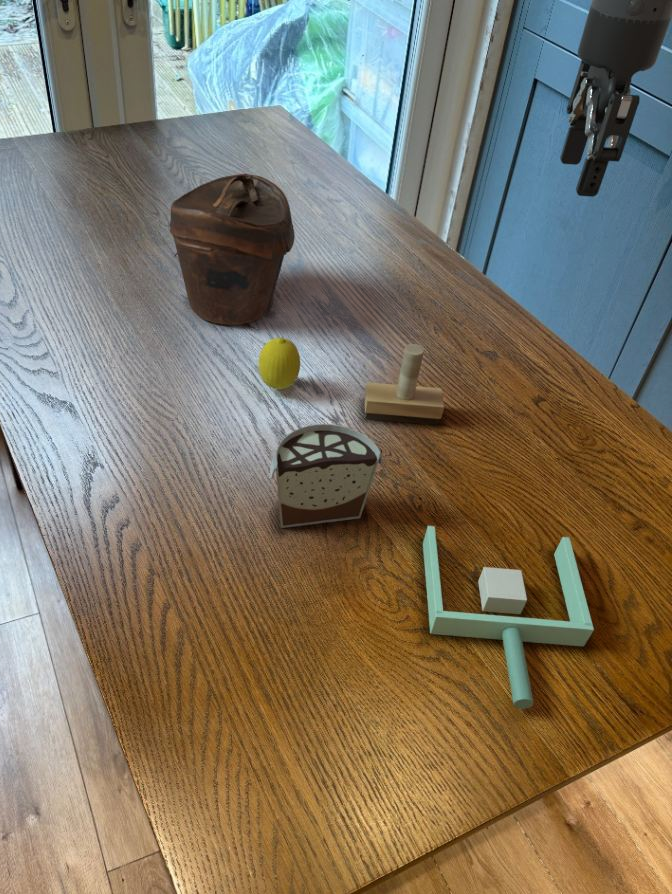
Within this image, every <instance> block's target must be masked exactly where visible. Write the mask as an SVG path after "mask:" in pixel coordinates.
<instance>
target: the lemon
mask: <svg viewBox="0 0 672 894" xmlns="http://www.w3.org/2000/svg"><path fill="white" fill-rule="evenodd" d="M300 369H301V357H300V352H299V350H298V347H297V346H296V345H295V343H294V342H293V341H291V340H290V339H288V338H284V337H276V338H275V337H274V338H272V339H270V340H268V341H267V342H266V343H265V344H264V345H263V347H262V348H261V351H260V354H259V356H258V373H259V376H260V378H261V380H262V381H263V383H264V384H265V385H266V386H268V387H269V388H272V389H274V390H275V389H276V390H283V389H287V388H289V387H290V386H292V385H293V384H294V383H295V382H296V380H297V379H298V377H299V375H300V371H301V370H300Z"/></svg>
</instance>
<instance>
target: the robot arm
mask: <svg viewBox="0 0 672 894" xmlns="http://www.w3.org/2000/svg"><path fill="white" fill-rule="evenodd" d="M671 20H672V0H591V3H590V6H589V10H588V14H587V17H586V20H585V24H584V27H583V30H582V34H581V38H580V41H579V44H578V48H577V56H578V58H579V59H580V60H581V61H580V64H579V67H578V71H577V73H576V78H575V81H574V84H573V86H572V91H571V93H570V97H569V99H568V104H567V106H566V115H569V116H568V117H567V118H568V119H567V125H568V126H569V127H568V130H567V133H566V137H565V140H564V143H563V147H562V150H561V153H560V156H559V159H560V161H561V163H562V164H564V165H573V166H574V165H575V166H576V165H579V164H580V163H581V162H582V159H583V155H584V153H585V149H586V146H587V150H586V156H585V160H584V162H583V165H582V169H581V172H580V175H579V178H578V181H577V184H576V188H575V191H576V194H577V195H578V196H579V197H591V198H592V197H595V196H597V195H598V194H599V191H600V188H601V187H602V186H601V185H602V182H603V181H604V178H605V177H604V176H605V175H606V171H607V169H608V166H609V163H610V162H615V163H617V162H620V160H621V158H622V156H623V152H624V149H625V146H626V143H627V140H628V138H629V134H630V132H631V128H632V126H633V123H634V119H635V117H636V113H637V110H638V107H639V104H640V101H641V98H640V95H639V94H631V85H632V78H633V77H634V76H635V75H636V74H637V73H639V72H645V71H648V70H650V69H652V67H654V65H656V63H657V59H658V57H659V54H660V51H661V48H662V45H663V43H664V40H665V37H666V35H667V31H668V29H669V27H670V23H671ZM587 142H588V143H587ZM606 142H607V144H606ZM605 145H606V146H605Z"/></svg>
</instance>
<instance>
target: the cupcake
mask: <svg viewBox="0 0 672 894" xmlns="http://www.w3.org/2000/svg"><path fill="white" fill-rule="evenodd" d="M378 465H379V466H380V467H384V463H383V456H382V452H381V450H380V449H379V447H378V446H377V445H376V444H375V442H374V441H373V440H371V439H370V437H368V436H366V435H364V434H363V433H362V432H360V431H357V430H355V429H353V428H351V427H347V426H344V425H338V424H331V423H317V424H316V423H315V424H310V425H306V426H301V427H300V428H296V429H294V430H293V431H292V432H290V433H287V435H286V436H285V437H283V439H281V441H280V442H279V444H278V445H277V447H276V448H275V451H274V453H273V456H272V459H271V462H270V466H269V476H270V479H271V480H273V478H274V475H276V477H275V478H276V488H277V501H278V515H279V525H280V528H281V529H285V528H292V527H293V528H294V527H301V526H310V525H317V524H323V523H325V524H326V523H333V522H341V521H342V522H343V521H349V520H357V519H361V517H362V514H363V511H364V508H365V505H366V502H367V498H368V496H369V492H370V489H371V487H372V484H373V481H374V477H375V475H376V471H377V468H378Z"/></svg>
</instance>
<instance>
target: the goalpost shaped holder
mask: <svg viewBox="0 0 672 894" xmlns="http://www.w3.org/2000/svg"><path fill="white" fill-rule="evenodd" d="M422 550H423V551H422V552H423V562H424V574H425V587H426V598H427V610H428V622H429V633H430V635H439V636H440V635H441V636H452V637H464V638H476V639H489V640H499V641H500V640H501V641H502V645H503V649H504V650H503V651H504V655H505V662H506V668H507V674H508V681H509V686H510V692H511V698H512V705H513V707H514V708H516V709H519V710H520V709H521V710H525V709H529V708H531V707H532V706H533V705H534V698H533V692H532V687H531V681H530V676H529V671H528V665H527V660H526V659H527V658H526V655H525V649H524V643H523V642H525V643H536V644H548V645H561V646H572V647H573V646H574V647H585V645H586V644H587V642H588V641H589V639H590V637H591V635H592V634H593V632H594V631H595V628H594V625H593V621H592V617H591V614H590V610H589V606H588V602H587V598H586V595H585V591H584V588H583V583H582V580H581V576H580V571H579V568H578V564H577V560H576V557H575V553H574V549H573V545H572V542H571V538H570V537H569V536H562V537H561V539H560V541H559V544H558V545H557V547H556V549H555V551H554V555H553V556H554V560H555V564H556V568H557V573H558V577H559V580H560V586H561V590H562V592H563V593H562V594H563V597H564V601H565V606H566V610H567V614H568V619H569V621H568V620H556V619H545V618H544V619H543V618H533V617H521V616H509V615H497V614H496V615H495V614H485V613H484V614H483V613H471V612H461V611H460V612H459V611H448V610H444V604H443V595H442V585H441V583H442V582H441V574H440V573H441V572H440V565H439V555H438V545H437V534H436V526H434V525H427V528H426V531H425V535H424V538H423V541H422Z"/></svg>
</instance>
